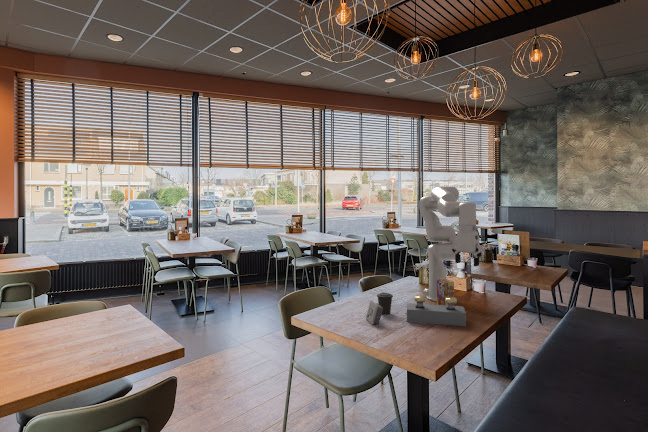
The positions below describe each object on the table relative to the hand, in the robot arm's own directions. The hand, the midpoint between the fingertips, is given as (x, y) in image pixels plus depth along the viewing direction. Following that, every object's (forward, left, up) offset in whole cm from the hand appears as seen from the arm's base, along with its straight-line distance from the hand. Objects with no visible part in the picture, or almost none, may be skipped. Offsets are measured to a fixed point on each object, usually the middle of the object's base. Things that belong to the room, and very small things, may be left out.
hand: (466, 264), depth 170 cm
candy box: (-15, +6, -26) cm, 31 cm away
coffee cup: (-32, -22, -26) cm, 47 cm away
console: (-9, -13, -26) cm, 30 cm away
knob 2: (-3, -9, -22) cm, 24 cm away
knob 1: (-15, -17, -22) cm, 31 cm away
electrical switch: (-28, -35, -26) cm, 52 cm away
